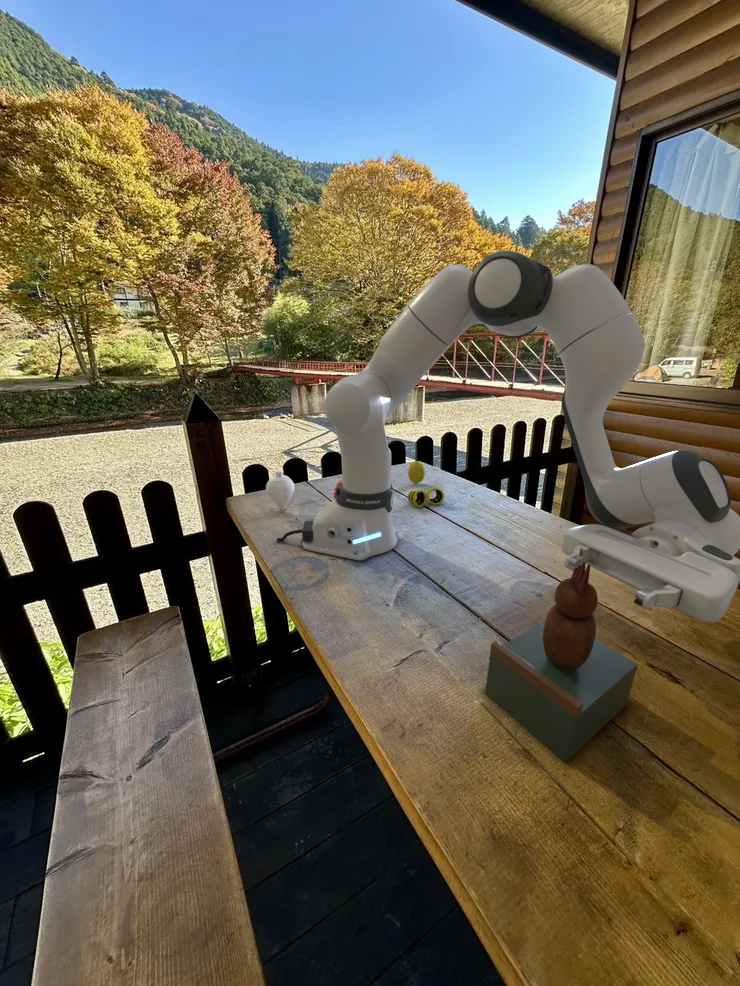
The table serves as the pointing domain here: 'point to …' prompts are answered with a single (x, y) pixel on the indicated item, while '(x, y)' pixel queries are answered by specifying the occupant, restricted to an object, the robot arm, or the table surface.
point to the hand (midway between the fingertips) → (602, 581)
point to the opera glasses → (420, 497)
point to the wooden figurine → (571, 621)
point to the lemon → (416, 472)
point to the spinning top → (280, 489)
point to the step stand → (558, 690)
